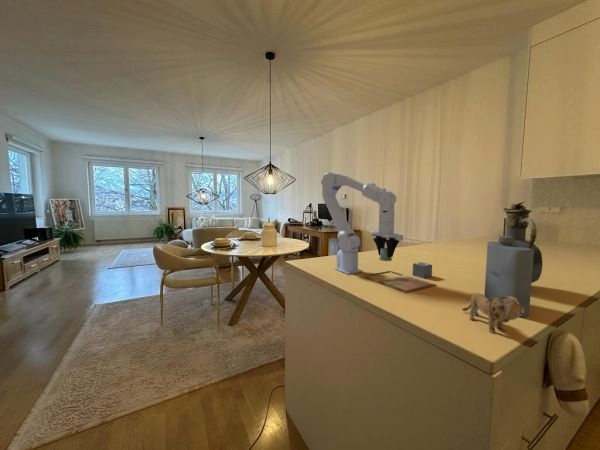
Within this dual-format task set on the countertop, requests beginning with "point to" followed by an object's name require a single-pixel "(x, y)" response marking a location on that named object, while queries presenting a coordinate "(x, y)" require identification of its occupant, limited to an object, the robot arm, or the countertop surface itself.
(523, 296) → the flask
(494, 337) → the countertop surface
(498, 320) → the lion figurine
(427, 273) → the die
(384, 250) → the teal flanged knob
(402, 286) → the board
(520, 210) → the pitcher
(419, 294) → the countertop surface
